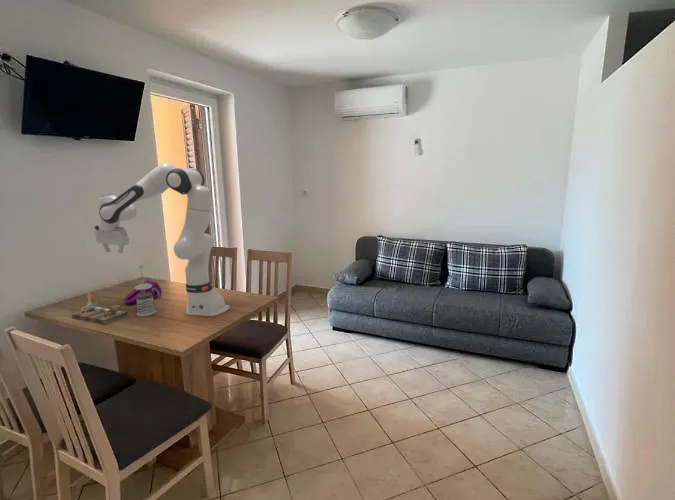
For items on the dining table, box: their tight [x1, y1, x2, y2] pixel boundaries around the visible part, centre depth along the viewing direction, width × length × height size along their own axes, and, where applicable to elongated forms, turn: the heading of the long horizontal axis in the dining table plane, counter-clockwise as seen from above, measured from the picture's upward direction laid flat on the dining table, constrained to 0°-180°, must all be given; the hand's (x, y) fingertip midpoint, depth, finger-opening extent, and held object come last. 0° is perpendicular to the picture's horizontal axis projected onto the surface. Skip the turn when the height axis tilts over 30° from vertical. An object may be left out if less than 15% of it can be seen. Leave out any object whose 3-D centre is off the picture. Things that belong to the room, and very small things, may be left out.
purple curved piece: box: [123, 279, 162, 306], centre depth 213 cm, size 9×8×18 cm
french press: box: [134, 264, 160, 317], centre depth 192 cm, size 10×12×25 cm
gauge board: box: [71, 304, 129, 325], centre depth 189 cm, size 24×12×6 cm, turn 68°
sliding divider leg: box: [80, 289, 99, 312], centre depth 191 cm, size 3×8×9 cm, turn 158°
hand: (114, 252), depth 200 cm, fingers open, 8 cm apart
